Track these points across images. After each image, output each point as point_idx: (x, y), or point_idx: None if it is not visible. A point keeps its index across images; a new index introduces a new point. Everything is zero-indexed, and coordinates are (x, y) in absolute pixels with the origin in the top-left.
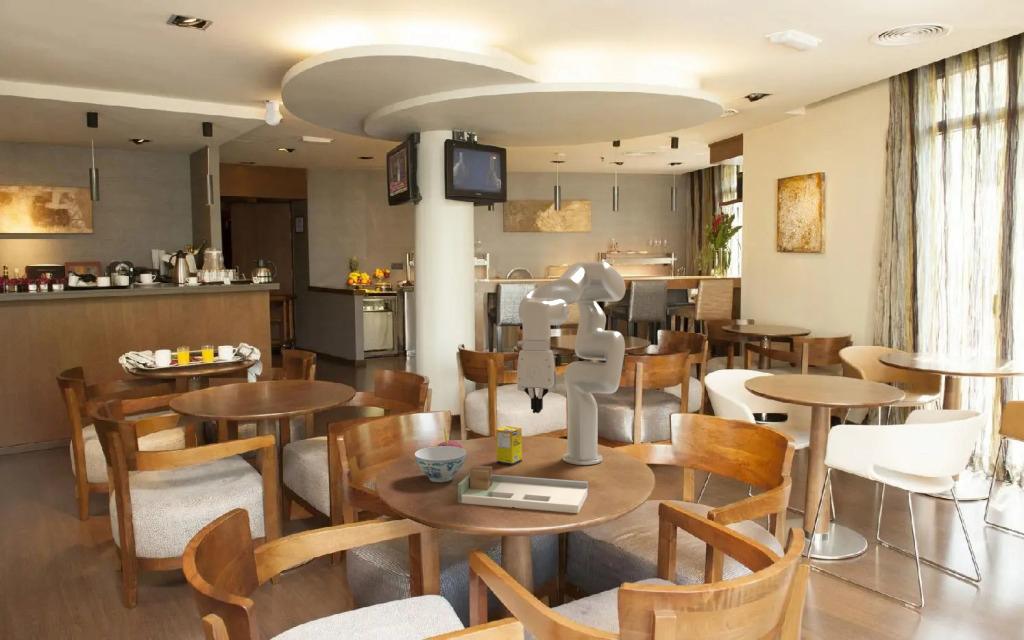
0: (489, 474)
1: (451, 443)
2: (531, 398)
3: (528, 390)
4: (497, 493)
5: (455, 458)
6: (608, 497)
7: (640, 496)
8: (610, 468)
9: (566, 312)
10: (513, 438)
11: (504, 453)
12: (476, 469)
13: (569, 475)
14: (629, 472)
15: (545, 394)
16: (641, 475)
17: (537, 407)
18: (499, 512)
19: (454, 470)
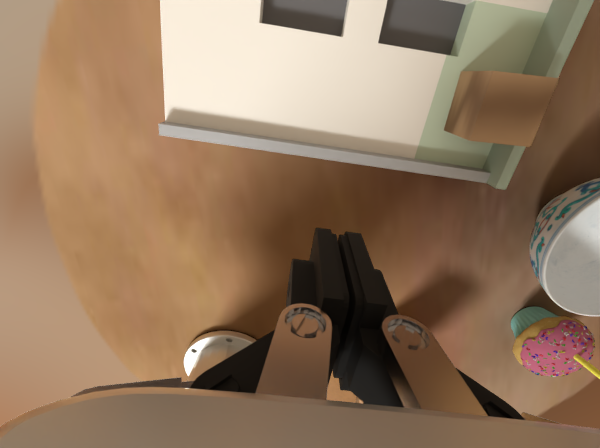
0: (474, 98)
1: (563, 354)
2: (400, 315)
3: (479, 404)
4: (429, 52)
5: (592, 201)
6: (113, 108)
7: (33, 125)
8: (159, 317)
9: None
10: None
11: None
12: (531, 99)
13: (243, 266)
14: (111, 296)
15: (235, 355)
16: (79, 279)
17: (325, 249)
18: None
19: (560, 197)
